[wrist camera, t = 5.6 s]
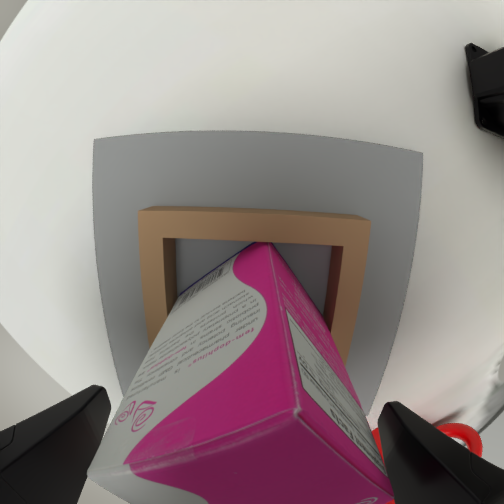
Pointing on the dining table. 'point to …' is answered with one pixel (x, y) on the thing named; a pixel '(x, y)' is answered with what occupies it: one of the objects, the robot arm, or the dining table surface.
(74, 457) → the robot arm
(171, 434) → the supplement box
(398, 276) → the holder
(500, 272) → the dining table surface
